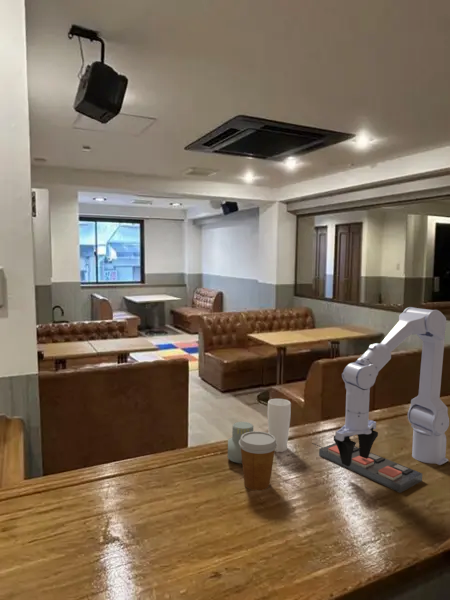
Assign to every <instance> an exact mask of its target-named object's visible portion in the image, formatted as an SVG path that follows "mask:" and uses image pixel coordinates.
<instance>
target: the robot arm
mask: <svg viewBox="0 0 450 600" xmlns="http://www.w3.org/2000/svg"><path fill="white" fill-rule="evenodd" d="M402 311H403V312H401V313H400V314H399V316H398V322H397V323H396V324H395V325H394V326H393V327H392V329H391V330H390V331H389V332H388V333H387V335H386V336H385V337H384V339H383V340H381V342H380V343H378V342H376V343H372V344H369V346H368V348H367V350H366V351H364V353H363V354H362V355H361V356H360V357H358V358H357V360H355V361H354V362H353V361H352V362H350V363H348V364H347V365H346V366H345V367H344V369H343V372H342V373H341V378H342V380H343V382H344V389H345V390H346V394H345V416H344V417H345V419H344V420H345V421H344V425H342V427H341V428H339V429H338V430H336V431H335V435H333V441H334V443H336V445H337V447H338V449H339V453H340V457H341V461H342V464H344V465H346V466H348V467H349V466H350V464H351V459H352V452H353V449H354V446H356V444H357V442H356V441H354V440H351V437H353V436H356V435H357V437H358V448H359V453H360V456H361V457H363V458H366V459H367V458H368V456H369V453H371V450H372V446H373V444H374V442H375V440H376V439H377V438H378V436H379V432H378V431H376V429H377V421H374V420H373V419H372V420H371V419H369V418H370V417H369V415H370V391H371V388H372V387H373V386H374V385H375V384H376V379H377V376H378V375H379V372H380V371H381V370H382V369H383V368H384V367H385V366H386V364H388V363H389V361H390V360H391V359H392V352H393V351H395V349H396V348H398V346H400V345H401V344H403V342H404V341H406V340H407V338H409V337H410V336H411V335H412V336H413V335H417V336H418V338H419V339H421V341H422V346H421V347H422V350H421V361H420V371H419V373H420V374H419V386H418V395H417V396H415V397H414V398H411V400H410V405H409V409H407V410H408V411H407V420H408V422H409V423H410V424H411V426H410V427H411V428H412V429H413V430H412V431H413V433H412V449H411V451H412V452H411V453H412V454H411V457H412V458H413V459H415V460H417V461H418V462H421V463H424V464H437V465H438V466H441V465H443V464H445V463H447V462H449V459H448V458H446V454H447V453H446V451H447V436H446V434H445V433H446V432H447V430H448V429H449V426H450V418H449V414H448V413H449V412H448V411H449V408H448V406H447V405H446V404H445V403H444V402H443V401H442V399H441V397H440V396H441V385H442V373H443V361H444V351H445V337H446V324H447V317H446V316H445V315H444V314H443V313H442V312H441V311H440V310H438V309H428V308H427V309H426V308H419V307H418V308H417V307H414V306H409V307H406V308H405V309H404V310H402Z"/></svg>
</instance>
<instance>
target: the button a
mask: <svg viewBox="0 0 450 600" xmlns="http://www.w3.org/2000/svg"><path fill="white" fill-rule="evenodd" d="M328 452H329V453H331V454H333V455H335V456H338V457H340V453H339V449H338V447H337V445H336V446H333V447H330V448H328Z"/></svg>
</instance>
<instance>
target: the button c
mask: <svg viewBox="0 0 450 600" xmlns="http://www.w3.org/2000/svg"><path fill="white" fill-rule="evenodd" d="M378 475H381V476H383V477H385V478H387V479H390V480H392V481H394V480H396V479H398V478H400V477H402V472H401V471H399V470H396V469H394V468H392V467H389V466H386V467H384V468H382V469H380V470H379V473H378Z"/></svg>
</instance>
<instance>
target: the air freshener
mask: <svg viewBox="0 0 450 600" xmlns="http://www.w3.org/2000/svg"><path fill="white" fill-rule="evenodd" d="M253 431H254V425H253V424H252V423H251V422H248V421H237V422H235V423H234V424H232V432H231V433H232V435H231V436H232V437H230V438H228V439H227V459H228V460H229V461H231V462H234V464H235V463H236V464H240V465H242V456H241V448H240V445H239V440H240V438H241V436H242V434H244V433H247V432H253Z"/></svg>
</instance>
